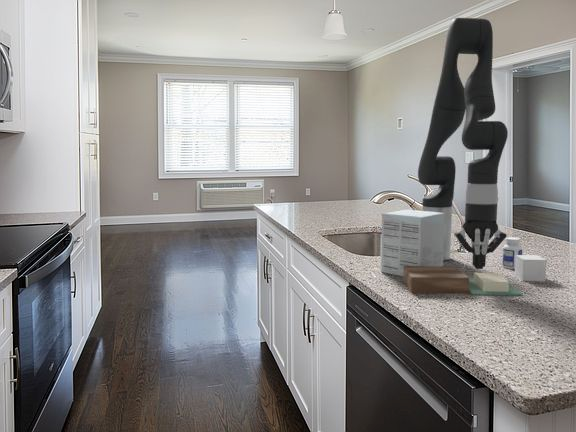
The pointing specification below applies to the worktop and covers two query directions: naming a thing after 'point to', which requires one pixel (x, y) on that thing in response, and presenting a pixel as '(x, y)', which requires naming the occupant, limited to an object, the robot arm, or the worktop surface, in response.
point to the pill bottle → (511, 252)
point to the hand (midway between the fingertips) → (478, 268)
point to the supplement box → (411, 240)
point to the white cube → (530, 268)
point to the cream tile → (491, 282)
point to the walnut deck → (436, 280)
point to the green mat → (478, 291)
